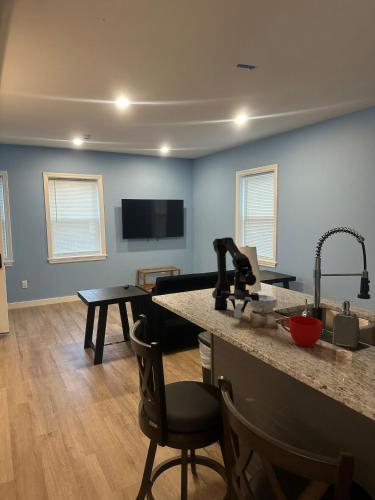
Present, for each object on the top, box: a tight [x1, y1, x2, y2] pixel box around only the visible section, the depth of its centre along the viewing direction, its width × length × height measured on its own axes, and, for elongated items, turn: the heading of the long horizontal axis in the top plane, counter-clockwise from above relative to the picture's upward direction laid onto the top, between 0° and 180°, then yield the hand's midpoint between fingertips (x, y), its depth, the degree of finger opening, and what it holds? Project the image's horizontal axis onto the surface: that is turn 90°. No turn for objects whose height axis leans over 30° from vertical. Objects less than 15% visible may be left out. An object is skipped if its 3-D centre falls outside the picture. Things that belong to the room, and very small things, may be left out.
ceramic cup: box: [280, 315, 324, 348], centre depth 140 cm, size 13×17×10 cm
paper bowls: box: [248, 294, 278, 314], centre depth 188 cm, size 15×15×8 cm
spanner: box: [233, 303, 244, 319], centre depth 170 cm, size 3×11×4 cm, turn 163°
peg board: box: [249, 309, 279, 330], centre depth 168 cm, size 12×19×4 cm, turn 172°
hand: (238, 312), depth 170 cm, fingers closed on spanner, 3 cm apart
